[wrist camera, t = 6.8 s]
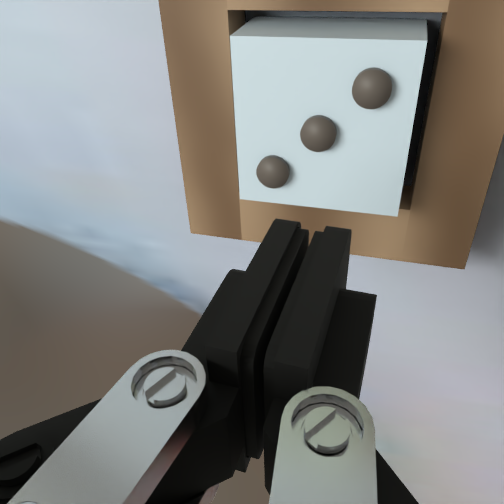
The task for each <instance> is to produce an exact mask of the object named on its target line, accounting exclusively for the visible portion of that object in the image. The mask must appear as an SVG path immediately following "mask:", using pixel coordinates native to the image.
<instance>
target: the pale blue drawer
mask: <svg viewBox="0 0 504 504" xmlns="http://www.w3.org/2000/svg"><path fill="white" fill-rule="evenodd" d="M426 46H427V19H386V18H317V17H254V18H252V19H251V20H250V21H249V22H247V23H246V24H245V25H243V26H242V27H241V28H239V29H238V30H237V31H235V32H234V33H233V34H231V35H230V47H231V63H232V80H233V96H234V112H235V128H236V144H237V161H238V177H239V193H240V199H243V200H252V201H261V202H270V203H279V204H288V205H297V206H306V207H315V208H324V209H333V210H342V211H351V212H360V213H369V214H378V215H387V216H396V217H398V211H399V205H400V199H401V193H402V187H403V181H404V175H405V170H406V164H407V158H408V152H409V146H410V140H411V134H412V128H413V122H414V116H415V111H416V105H417V99H418V93H419V87H420V81H421V75H422V69H423V63H424V57H425V52H426Z"/></svg>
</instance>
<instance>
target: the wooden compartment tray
mask: <svg viewBox="0 0 504 504" xmlns="http://www.w3.org/2000/svg"><path fill="white" fill-rule="evenodd" d="M159 7H160V15H161V22H162V29H163V36H164V43H165V51H166V58H167V65H168V72H169V79H170V86H171V94H172V101H173V108H174V115H175V122H176V130H177V137H178V144H179V151H180V158H181V166H182V173H183V180H184V187H185V194H186V202H187V209H188V216H189V223H190V230H191V233H194V234H202V235H209V236H217V237H224V238H232V239H239V240H247V241H254V242H262V241H263V239H264V237H265V235H266V234H267V232H268V230H269V228H270V226H271V225H272V223H273V221H274V220H275V219H276V218H277V219H284V220H291V221H298V222H300V223H301V229H307V230H309V244H310V242H311V240H312V237H313V235H314V232H315V231H321V232H324V229H325V227H326V226H332V227H339V228H346V229H351V230H352V235H351V245H350V254H352V255H360V256H367V257H375V258H382V259H390V260H398V261H405V262H413V263H420V264H428V265H435V266H443V267H450V268H458V269H465V265H466V262H467V259H468V255H469V252H470V248H471V245H472V241H473V238H474V234H475V231H476V228H477V224H478V221H479V217H480V214H481V210H482V207H483V204H484V200H485V197H486V193H487V190H488V186H489V183H490V179H491V176H492V173H493V169H494V166H495V162H496V159H497V155H498V152H499V149H500V145H501V142H502V138H503V135H504V0H159ZM245 10H286V11H376V12H443V13H442V19H441V24H440V30H439V35H438V41H437V46H436V52H435V57H434V63H433V68H432V74H431V79H430V85H429V91H428V96H427V102H426V107H425V113H424V118H423V124H422V129H421V135H420V140H419V146H418V151H417V157H416V162H415V168H414V173H413V179H412V184H411V186H408V185H403V187H402V193H401V199H400V205H399V211H398V217H396V216H387V215H378V214H369V213H360V212H351V211H342V210H333V209H324V208H315V207H306V206H297V205H288V204H279V203H270V202H261V201H252V200H243V199H240V193H239V177H238V161H237V144H236V128H235V112H234V96H233V80H232V63H231V47H230V35H231V34H233V33H234V32H235V31H237V30H238V29H239V28H241V27H242V26H243V25H245Z"/></svg>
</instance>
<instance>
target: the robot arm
mask: <svg viewBox="0 0 504 504" xmlns="http://www.w3.org/2000/svg"><path fill="white" fill-rule="evenodd" d="M351 235H352V230H351V229H346V228H339V227H332V226H326V227H325V229H324V232H321V231H315V232H314V235H313V237H312V240H311V242H310V244H309V230H307V229H301V223H300V222H298V221H291V220H284V219H277V218H276V219H275V220H274V221H273V223H272V225H271V226H270V228H269V230H268V232H267V234H266V235H265V237H264V239H263V241H262V243H261V244H260V246H259V248H258V250H257V252H256V253H255V255H254V257H253V259H252V261H251V262H250V264H249V266H248V268H247V270H246V271H241V270H236V269H232V270H230V271H229V272H228V274H227V275H226V277H225V278H224V280H223V282H222V283H221V285H220V287H219V288H218V290H217V292H216V293H215V295H214V297H213V298H212V300H211V302H210V303H209V305H208V307H207V308H206V310H205V312H204V313H203V315H202V317H201V319H200V320H199V322H198V323H197V325H196V327H195V329H194V330H193V332H192V333H191V335H190V337H189V338H188V340H187V342H186V344H185V345H184V347H183V348H182V350H181V351H178V350H163V351H159V352H155V353H151V354H149V355H147V356H145V357H143V358H141V359H140V360H139V361H138V362H136V363H135V364H134V365H133V366H132V367H131V368H130V369H129V370H128V371H127V372H126V373H125V374H124V375H123V377H122V378H121V379H120V380H119V381H118V382H117V383H116V384H115V385H114V386H113V387H112V389H111V390H110V391H109V392H108V393H107V394H106V395H105V396H104V397H103V398H102V399H99V400H97V401H94V402H92V403H89V404H87V405H84V406H81V407H79V408H76V409H74V410H71V411H69V412H66V413H63V414H61V415H58V416H55V417H53V418H50V419H48V420H45V421H43V422H40V423H37V424H35V425H33V426H30V427H27V428H24V429H22V430H20V431H17V432H15V433H13V434H11V435H9V436H7V437H5V438H3V439H0V504H211V502H212V500H213V498H214V497H215V494H216V492H217V489H218V486H219V483H221V482H223V481H224V480H227V479H229V478H231V477H232V476H233V474H234V471H235V470H238V471H241V472H246V469H247V467H248V464H249V461H250V458H251V457H252V458H256V459H259V458H260V456H261V454H262V451H263V449H264V465H265V466H264V467H265V487H266V489H267V491H268V493H269V495H270V500H269V504H419V503H418V502H417V501H416V499H415V498H414V497H413V496H412V494H411V493H410V492H409V491H408V489H407V488H406V487H405V485H404V484H403V483H402V482H401V480H400V479H399V478H398V477H397V475H396V474H395V473H394V471H393V470H392V469H391V468H390V466H389V465H388V464H387V463H386V461H385V460H384V459H383V457H382V456H381V455H380V454H379V452H378V451H377V450H376V448H375V429H374V424H373V419H372V416H371V415H370V413H369V411H368V410H367V408H366V406H365V405H364V404H363V403H362V402H361V401H360V400H359V397H360V391H361V386H362V380H363V375H364V369H365V364H366V358H367V353H368V347H369V341H370V335H371V329H372V323H373V317H374V310H375V304H376V297H377V295H374V294H369V293H363V292H358V291H352V290H347V289H346V282H347V273H348V264H349V254H350V245H351Z"/></svg>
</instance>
